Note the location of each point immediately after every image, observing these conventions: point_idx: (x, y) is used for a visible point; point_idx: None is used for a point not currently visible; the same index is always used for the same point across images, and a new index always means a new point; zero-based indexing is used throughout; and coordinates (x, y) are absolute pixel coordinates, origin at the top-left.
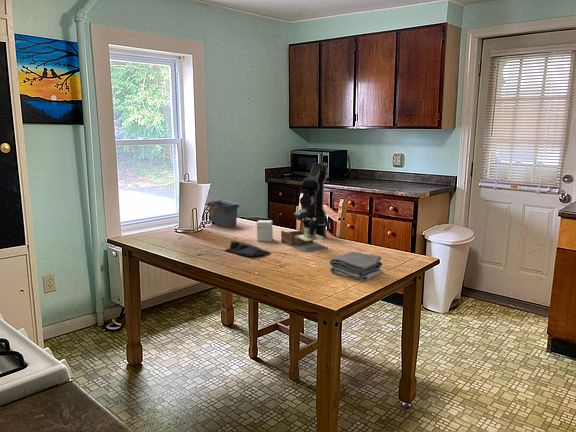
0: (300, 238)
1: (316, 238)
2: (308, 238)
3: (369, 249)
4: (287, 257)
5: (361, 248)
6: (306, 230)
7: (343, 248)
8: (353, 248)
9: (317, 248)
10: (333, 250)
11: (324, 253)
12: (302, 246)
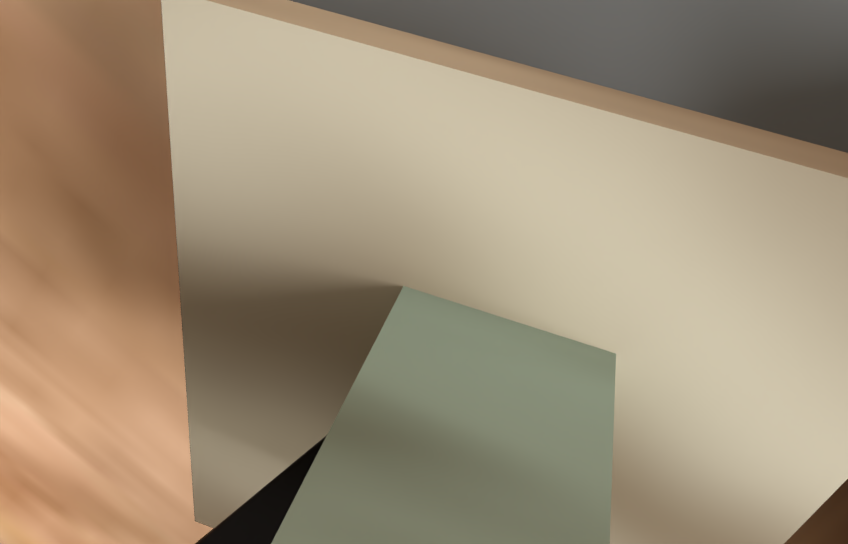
0: (587, 91)
1: (192, 361)
2: (266, 202)
3: (32, 531)
4: None
5: (91, 532)
6: (378, 518)
7: (172, 463)
8: (123, 504)
9: None
10: (146, 332)
11: (45, 106)
12: None
